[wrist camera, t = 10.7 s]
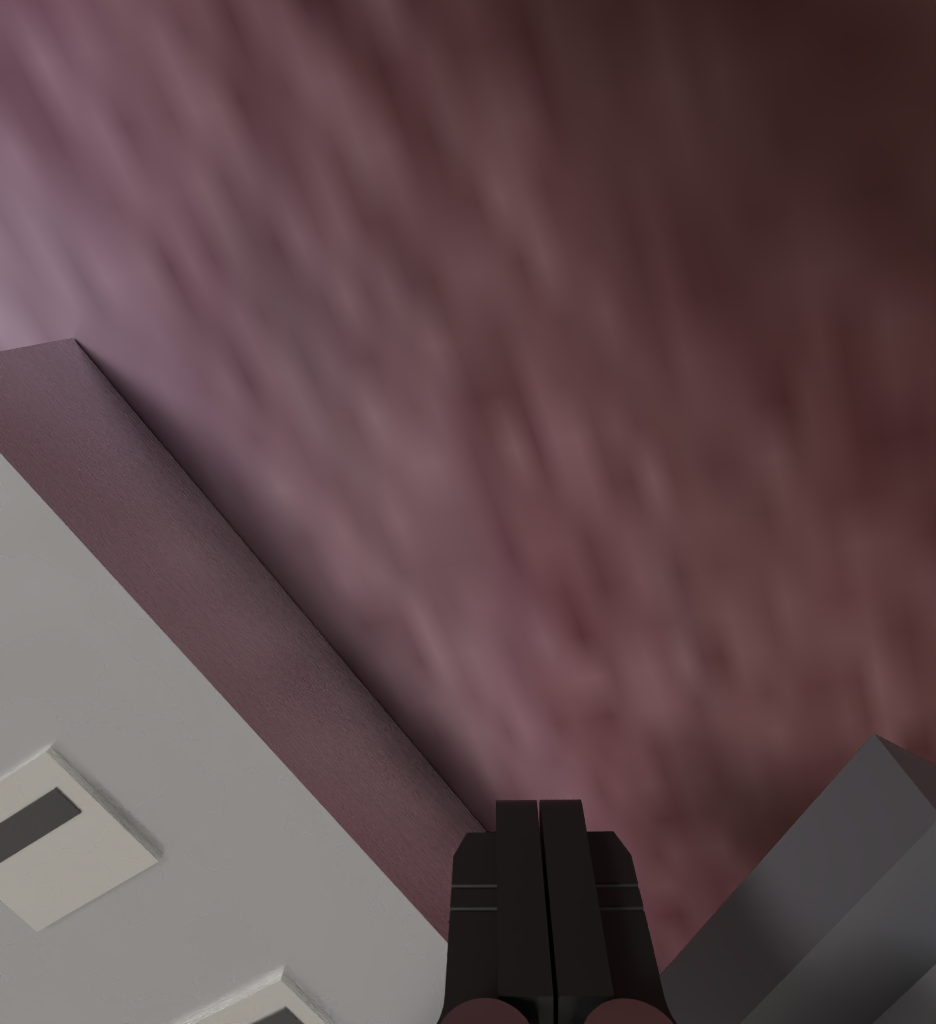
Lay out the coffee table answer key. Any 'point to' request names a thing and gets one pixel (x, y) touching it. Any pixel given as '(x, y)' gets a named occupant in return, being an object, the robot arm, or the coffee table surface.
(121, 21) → the coffee table surface
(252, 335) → the coffee table surface
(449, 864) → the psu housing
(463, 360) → the coffee table surface
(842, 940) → the bar
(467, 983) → the robot arm
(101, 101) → the coffee table surface
